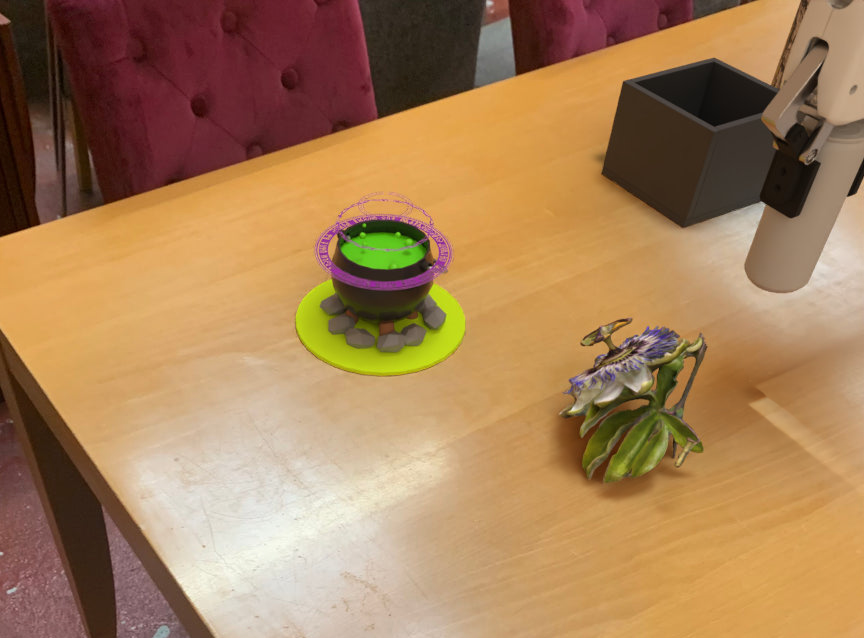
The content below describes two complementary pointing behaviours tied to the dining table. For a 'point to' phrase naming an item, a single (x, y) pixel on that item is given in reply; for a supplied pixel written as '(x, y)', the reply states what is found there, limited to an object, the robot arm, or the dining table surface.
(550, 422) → the dining table surface
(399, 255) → the toy cauldron
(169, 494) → the dining table surface
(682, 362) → the passion flower
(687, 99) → the bin
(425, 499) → the dining table surface
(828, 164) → the beverage can
